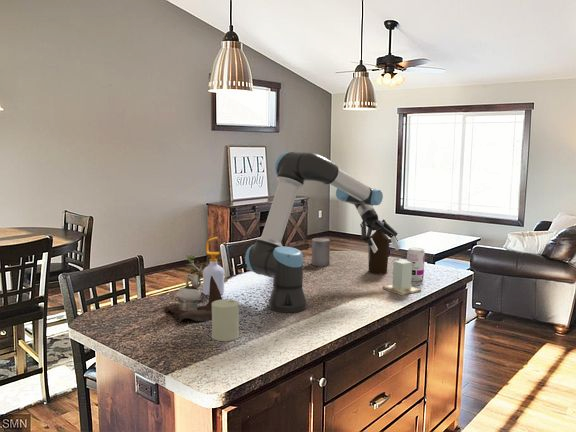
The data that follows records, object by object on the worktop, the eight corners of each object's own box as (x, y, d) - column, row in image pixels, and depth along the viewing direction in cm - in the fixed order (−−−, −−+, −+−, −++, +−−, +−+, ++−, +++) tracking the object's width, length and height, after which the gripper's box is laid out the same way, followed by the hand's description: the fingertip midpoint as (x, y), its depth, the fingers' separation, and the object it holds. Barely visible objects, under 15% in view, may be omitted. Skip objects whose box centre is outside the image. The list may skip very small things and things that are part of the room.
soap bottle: (222, 296, 221) (222, 239, 217) (201, 296, 221) (200, 239, 218) (225, 290, 230) (225, 235, 226) (205, 290, 230) (204, 235, 226)
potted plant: (160, 317, 201) (171, 253, 205) (205, 321, 211) (214, 260, 215) (179, 323, 184) (191, 253, 188) (227, 327, 194) (237, 261, 198)
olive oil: (389, 270, 271) (391, 222, 267) (386, 275, 261) (388, 225, 257) (369, 268, 274) (371, 221, 271) (365, 273, 264) (367, 224, 261)
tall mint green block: (401, 290, 231) (402, 263, 229) (392, 287, 236) (393, 261, 234) (411, 288, 233) (412, 262, 232) (402, 285, 238) (403, 259, 237)
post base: (400, 295, 226) (401, 277, 225) (382, 288, 237) (383, 271, 236) (421, 291, 233) (422, 274, 231) (402, 285, 243) (403, 268, 242)
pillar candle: (320, 261, 289) (321, 234, 287) (333, 264, 282) (333, 237, 280) (307, 263, 283) (308, 236, 281) (320, 267, 276) (320, 239, 274)
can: (244, 336, 176) (244, 301, 174) (224, 343, 169) (223, 307, 168) (226, 329, 182) (226, 296, 181) (205, 336, 175) (205, 301, 174)
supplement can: (421, 277, 257) (423, 247, 255) (424, 281, 249) (426, 251, 247) (405, 276, 258) (406, 247, 256) (407, 281, 250) (408, 250, 248)
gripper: (383, 217, 261) (403, 252, 250) (343, 220, 249) (362, 257, 238) (391, 207, 256) (411, 243, 245) (350, 210, 243) (370, 247, 233)
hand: (387, 250), depth 241 cm, fingers open, 13 cm apart
